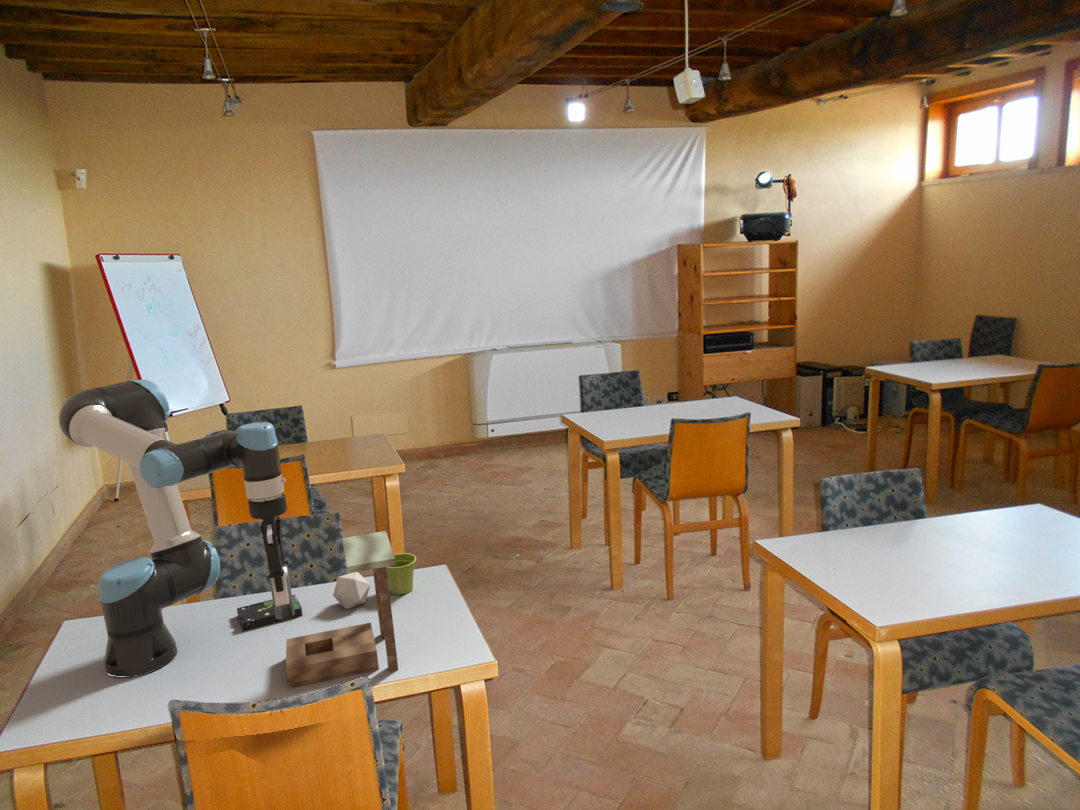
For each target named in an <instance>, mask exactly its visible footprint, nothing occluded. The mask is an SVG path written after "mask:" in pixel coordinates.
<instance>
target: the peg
mask: <svg viewBox="0 0 1080 810" xmlns="http://www.w3.org/2000/svg"><path fill="white" fill-rule="evenodd" d="M282 566H283V572H284V574H285V579H286V585H287V592H288V598H289V604H284V605H279V606H276V604H275V598H274V592H273V586H272V579H271V578H269V579H268V580H269V586H270V591H271V592H270V593H271V596H272V597H271V598H272V599H273V605H274V611H275V617H276V619H280V620H281V619H287V618H290V617H292V616H293V615H294V614H295V611H294V605H293V599H292V595H293V594H292V587H291V586H292V585H291V580H290V576H289V569H288V568H289V567H288V565H286V564H282ZM267 573H268V575H269V574H270V573H269V567H268V568H267ZM272 599H271V600H272Z"/></svg>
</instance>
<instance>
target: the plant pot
mask: <svg viewBox="0 0 1080 810" xmlns="http://www.w3.org/2000/svg"><path fill="white" fill-rule="evenodd" d="M394 556H395V561H396V565H393V566H388V567H387V576H388V584H389V593H390V594H392V595H397V596H399V595H402V594H408V593H410V592H412V591H413V588H414V574H415V573H414V569H415V565H416V561H417V557H416V555H414V554H412V553H408V552H407V553H406V552H405V553H404V552H403V553H394Z"/></svg>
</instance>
